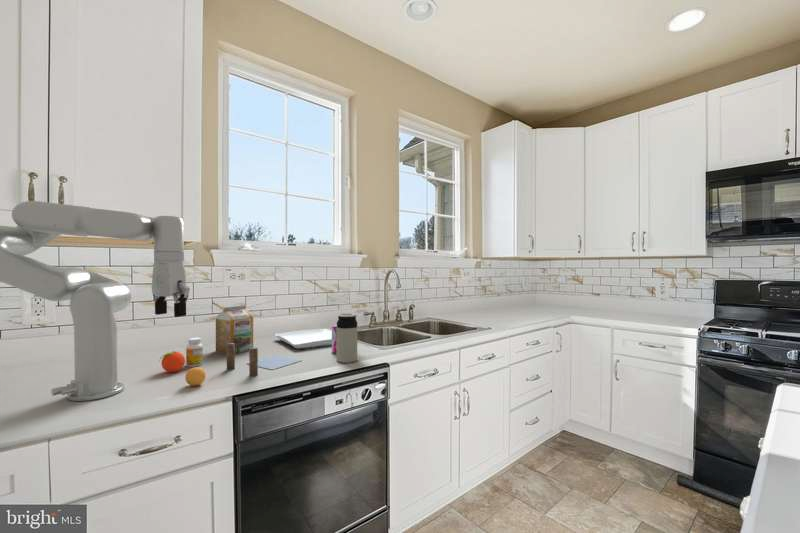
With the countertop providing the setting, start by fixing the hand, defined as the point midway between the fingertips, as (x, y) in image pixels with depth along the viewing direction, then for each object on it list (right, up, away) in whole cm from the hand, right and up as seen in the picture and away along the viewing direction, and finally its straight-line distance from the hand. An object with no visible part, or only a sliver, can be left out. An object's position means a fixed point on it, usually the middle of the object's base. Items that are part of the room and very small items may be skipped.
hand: (170, 315), depth 109 cm
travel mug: (+48, -22, +33) cm, 62 cm away
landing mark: (+21, -22, +29) cm, 42 cm away
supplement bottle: (-7, -22, +25) cm, 34 cm away
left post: (+9, -22, +20) cm, 31 cm away
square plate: (+27, -22, +64) cm, 73 cm away
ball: (+6, -19, +3) cm, 20 cm away
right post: (+19, -22, +14) cm, 32 cm away
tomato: (-10, -22, +16) cm, 29 cm away
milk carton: (-2, -22, +47) cm, 51 cm away
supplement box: (+44, -22, +45) cm, 66 cm away
